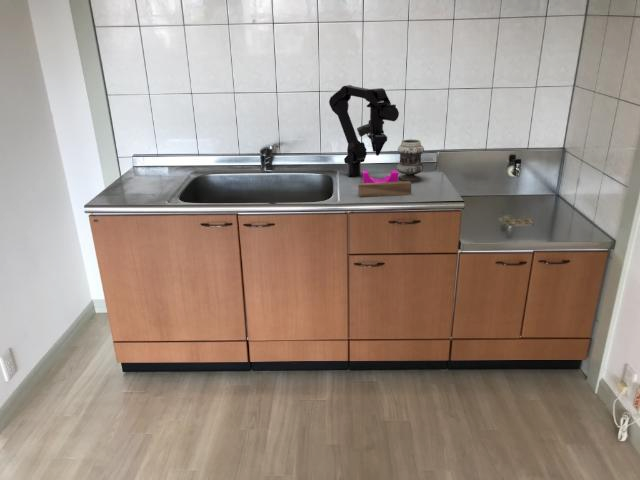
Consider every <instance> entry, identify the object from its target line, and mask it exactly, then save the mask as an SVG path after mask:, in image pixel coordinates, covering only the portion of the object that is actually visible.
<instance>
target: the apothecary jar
mask: <svg viewBox="0 0 640 480" xmlns="http://www.w3.org/2000/svg"><path fill="white" fill-rule="evenodd" d="M397 152H398V154H399V155H400V156H399V163H397V165H396V171H398V173H401V174H402V175H401V176H400V177H398V181H399V182H400V181H410V182H411V183H417V182H420V181H421V177H419V176H418V175H417V174H419V173H421V172H423V170H424V164H422V154H423V153H424V152H425V147H424V146H423V145H422V142H421V140H419V139H412V138H409V139H408V138H407V139H402V140H401V143H400V145H398V147H397Z"/></svg>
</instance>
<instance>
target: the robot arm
mask: <svg viewBox="0 0 640 480" xmlns="http://www.w3.org/2000/svg"><path fill="white" fill-rule="evenodd" d="M351 97H355V98H356V97H357V98H361V99H364V100H365V101H366V102H369V103H368V104H367V105H366V107H367V108H369V112H370V113H369V120H368V123H367V124H364V125H360V126H358V127H357V128H356V130H357V132H358V135H359V137H363V136H365V135H366V136H367V137H368V138H369V139H370V143H371V148H372V152H375V155H376V156H377V157H378V156H379V155H380V153H381V152H382V150H383V147H384V146H385V144H386V142H388V136H387V135H386V134H385V131H384V124H385V121H389V122H395V121H398V118H399V115H400V111H399V110H398V108H397V107H396V106H397V105H396V104H391V101H390V98H389V97H388V95H387V92H386V90H385V89H384V88H383V87H381V88H377V87H376V88H365V87H360V86H353V85H351V84H350V85H349V84H348V85H343V86H341V88H340V89H339V90H338V91H336V92H335V93H334V94H333V95H332V96H330V98H329V101H328V103H329V104H328V105H329V107H330V108H331V110H332V112H333V113H334V114H335V115H336V116H337V117H338V120H339V122H340V125H341V129H342V130H343V134H344V137H345V139H346V143H347V150H346V151H347V155H346V156H345V157H344V159H343V161H344V164H347V165H348V172H346V174H347V176H348V177H349V178H357V177H358V178H360V177H363V173H362V172H361V170H362V169H361V166H362V165H361V163H364V162H365V161H366V157H367V155H368V153H367V151H368V150H367V148H366V145H365V142H364V141H362V142H360V140H359V139H358V137H357V133H356V131H355V128H354V125H353V123H352V120H351V117H350V114H349V107H350V106H349V101H350V100H351Z"/></svg>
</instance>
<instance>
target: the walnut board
mask: <svg viewBox="0 0 640 480" xmlns="http://www.w3.org/2000/svg"><path fill="white" fill-rule="evenodd" d="M357 193H358V197H359V198H367V197H369V198H370V197H371V198H372V197H385V196H387V197H388V196H401V195H402V196H404V195H405V196H406V195H412V182H410V181H400V180H399V181H398V182H380V183H358V191H357Z"/></svg>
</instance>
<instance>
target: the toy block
mask: <svg viewBox="0 0 640 480" xmlns="http://www.w3.org/2000/svg"><path fill="white" fill-rule="evenodd" d="M362 182H363V183H380V182H399V171H398V170H390V173H389V175H386V176H385V177H384V178H383V177H382V178H381V179H380V178H374V177H373V178H372V177H371V176H370V174H369V171H368V170H363V171H362Z"/></svg>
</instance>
